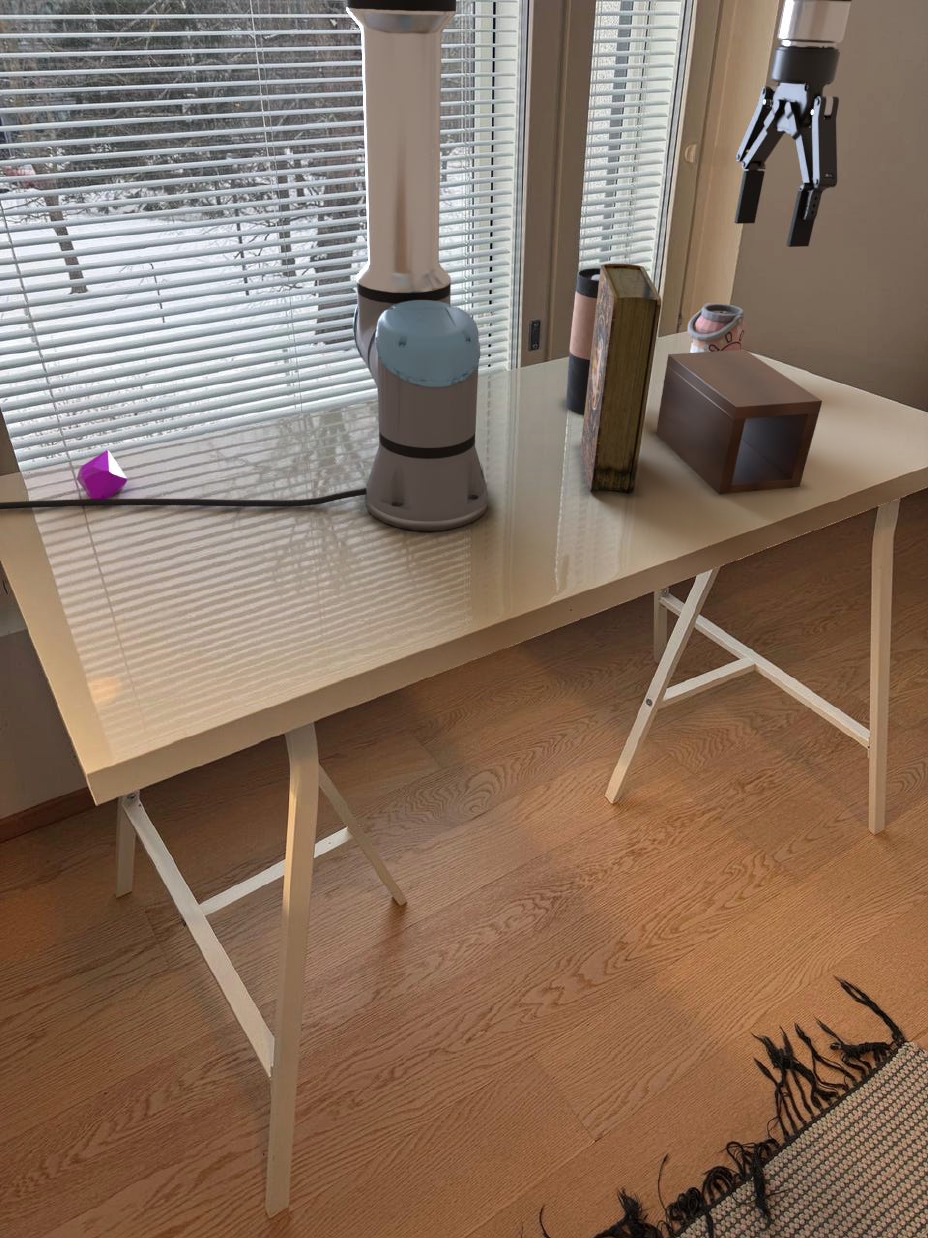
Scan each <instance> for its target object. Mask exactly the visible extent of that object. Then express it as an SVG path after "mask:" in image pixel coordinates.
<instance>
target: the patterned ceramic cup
mask: <svg viewBox="0 0 928 1238" xmlns="http://www.w3.org/2000/svg"><path fill="white" fill-rule="evenodd" d="M744 314H745V311H744V309H742V308H741V307H739V306H737V305H736V306H735V305H732V304H727V303H710V302H707V303H705V304H704V305H703V306H702V308H701V309H700V310H699V311H698V312H696V313H695V314H694V315H693V316H692V317H691V318H690V320H689V321H688V323H687V333H688V334H689V335H690V337H691V338H692V339H691V345H690V350H689V353H698V352H715V351H732V350H742V347H743V343H744V337H745V332H746V324H745V322H744Z"/></svg>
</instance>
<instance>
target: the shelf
mask: <svg viewBox="0 0 928 1238" xmlns="http://www.w3.org/2000/svg"><path fill="white" fill-rule="evenodd" d="M659 404H660V405H659V411H658V417H657V423H656V428H655V429H656V430H655V435H656V436H657V437H658V438H660V439H661V440H662V442H664V443H665V444H666V445H667V446H668V447H669V448H670V449H671V450H672V451H673V452H674V453H675V454H676V455H677V456H678V457H679V458H680V459H681V460H682V461H683V462H685V464H686V465H687V466H689V467H690V468H691V470H693V471H694V472H695V473H696V474H697V475H698V476H699V477H700V478H701V479H702V480H703V481H704V482H705V483H706V484H708V485H709V486H710V487H711V489H713V490H714V491H715V492H716V494H718V495H724V494H725V495H726V494H735V493H745V492H746V493H747V492H757V491H766V490H768V491H769V490H777V489H778V490H779V489H787V488H797V487H798V488H799V487H801V485H802V484H801V483H802V480H803V476H804V473H805V468H806V465H807V460H808V457H809V454H810V449H811V446H812V442H813V438H814V434H815V431H816V426H817V423H818V419H819V415H820V412H821V407H822V405H823V400H822V399H820V398H819V397H817V396H816V395H815V394H813V393H812V392H810V391H809V390H807V389H805V388H804V387H802V386H801V385H799V384H798V383H797V382H795V381H793V380H792V379H791V378H789V377H787V376H786V375H784V374H782V373H781V372H780V371H778V370H776V369H775V368H773V367H772V366H771V365H769V364H767V363H766V362H764V361H763V360H761V359H760V358H758V357H756V356H755V355H754V354H752V353H751V352H749V351H748V350H747V349H741V350H732V351H715V352H698V353H690V352H683V353H682V352H681V353H668V354H667V360H666V367H665V373H664V380H663V386H662V391H661V398H660V403H659Z"/></svg>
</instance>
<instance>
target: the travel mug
mask: <svg viewBox="0 0 928 1238" xmlns="http://www.w3.org/2000/svg"><path fill="white" fill-rule="evenodd" d="M600 269H601V267H594V268H591V267H590V268H585V269H581V270H579V271H578V272H577V277H576V287H575V293H574V294H575V296H574V303H573V304H574V305H573V312H572V313H573V314H572V324H571V332H570V342H569V354H568V367H567V368H568V369H567V381H566V400H565V401H566V402H565V405H566V408H567V409H568V410H570V411H572V412H574V413H577V414H581V415H584V414H585V405H586V395H587V386H588V377H589V368H590V359H591V350H592V341H593V332H594V323H595V314H596V305H597V296H598V287H599V278H600Z"/></svg>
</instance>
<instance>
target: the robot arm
mask: <svg viewBox="0 0 928 1238" xmlns="http://www.w3.org/2000/svg"><path fill="white" fill-rule="evenodd" d="M852 1H853V0H784V1H783V5H782V10H781V16H780V21H779V26H778V31H777V35H776V37H777V39H778V40H779V41H780V45H777V47H776V48H775V49H774V54H773V58H772V64H771V69H770V74H769V78H770V80H771V81H772V82H775V83H777V86H776V85H773V86H772V85H764V86H762V88H761V90H760V94H759V98H758V102H757V104H756V108H755V110H754V113H753V114H752V117H751V120H750V122H749V125H748V126H747V129H746V131H745V134H744V136H743V139H742V140H741V143H740V145H739V148H738V150H737V153H736V155H735V160H736V162H737V163H740V164H741V169H742V170H743V171H742V176H741V183H740V189H739V196H738V201H737V206H736V211H735V217H734V224H737V225H741V224H742V225H743V224H756V218H757V214H758V209H759V204H760V203H759V202H760V199H761V192H762V187H763V184H764V183H763V182H764V177H765V171H764V170H765V169H767V167H766V161H767V160H768V158H769V157H770V155H772V152H773V151H774V149H775V148H776V146H777V145H778V143H779V142H780V141H781V139H782V138H783V135H785V134H789V135H790V136H791V138H792V139H793V140H794V141H795V145H796V150H797V157H798V162H799V168H800V169H799V170H800V174H801V180H802V184H801V185H800V186H799V187H798V190H797V194H796V199H795V204H794V209H793V213H792V217H791V222H790V227H789V231H788V236H787V240H786V245H785V246H786V247H788V248H796V247H798V248H799V247H801V248H802V247H810V242H811V238H812V233H813V228H814V225H815V220H816V218H817V216H818V211H819V207H820V203H821V199H822V195H823V193H824V191H825V190H826V189H830V188H836V186H837V184H838V148H837V147H838V146H837V145H838V142H837V115H838V111H839V105H840V98H839V97H838V96H833V95H832V96H831V95H830V96H826V95H825V96H824V88H825V86H828V85H831V84H833V82H834V81H835V78H836V75H837V70H838V65H839V61H840V57H841V51H840V48H837V44H840V43H841V42H842V41H844V37H845V32H846V27H847V22H848V19H849V16H850V15H849V13H850V9H851V4H852ZM346 12H347V13H348V15H350V17H351V18H352V19H353V21H354V22H355V23H356V24H357V25H358V26H359V29H360V31H361V46H362V47H361V53H362V85H363V86H362V88H363V119H364V122H363V123H364V151H365V152H364V153H365V158H364V159H365V189H366V191H365V192H366V221H367V224H366V225H367V257H368V261H367V263H366V265H364V267H363V268H362V269H361V270H360V271H359V273H357V275H356V300H357V301H356V303H357V304H356V307H355V310H354V314H353V319H352V320H353V321H352V334H353V340H354V344H355V347H356V350H357V352H358V354H359V356H360V358H361V359H362V361H363V362H364V363H365V366H366V367H367V369H368V370H369V373H370V375H371V377H372V380H373V381H374V383H375V385H376V389H377V408H378V409H377V410H378V412H377V413H378V447H377V450H376V453H375V457H374V460H373V462H372V465H371V470H370V472H369V476H368V479H367V482H366V486H365V487H362V488H357V489H352V490H346V491H341V492H335V493H332V494H328V495H324V496H320V497H319V496H318V497H312V498H301V499H299V498H298V499H220V498H218V499H217V498H108V499H91V498H82V499H81V498H80V499H76V498H75V499H47V500H26V501H25V500H21V501H20V500H19V501H1V502H0V510H15V509H16V510H17V509H32V508H33V509H36V508H37V509H38V508H63V507H64V508H65V507H96V506H97V507H105V506H106V507H107V506H109V507H111V506H117V507H118V506H190V507H192V506H197V507H198V506H200V507H251V508H253V507H258V508H259V507H267V508H268V507H271V508H273V507H274V508H276V507H277V508H279V507H281V508H283V507H285V508H286V507H287V508H288V507H289V508H291V507H305V506H316V505H317V506H318V505H321V504H322V505H323V504H327V503H330V502H335V501H340V500H344V499H349V498H355V497H360V496H365V506H366V508H367V510H368V512H369V513H370V515H372V516H373V517H375V518H376V519H377V520H379V521H380V522H382V523H385V524H387V525H390V526H392V527H396V528H399V529H404V530H410V531H418V532H419V531H420V532H423V531H424V532H437V531H446V530H452V529H456V528H459V527H463V526H466V525H468V524H471V523H473V522H474V521H476V520H478V519H479V518H481V516H483V514H484V513H485V512H486V510H487V509H488V499H489V498H488V497H489V495H488V485H487V481H486V478H485V472H484V467H483V464H482V463H481V461H480V458H479V455H478V452H477V448H476V428H477V408H478V386H479V363H480V359H481V353H482V352H481V342H480V333H479V327H478V325H477V323H476V320H475V319H474V318H473V317H472V315H470V313H468V312H467V311H465V310H464V309H462V308H461V307H458V306H451V293H452V292H451V290H452V289H451V288H452V278H451V275H449V273H448V272H447V271H446V270H445V269H444V268H443V267H442V266H441V264H440V262H439V261H440V198H441V197H440V190H441V188H440V186H441V185H440V184H441V183H440V182H441V111H442V110H441V109H442V108H441V107H442V34H443V31H444V30H445V29H446V28H447V26H448V25H449V24H450V22H451V21H452V20H453V19H454V17H455V16H456V15H457V0H346Z"/></svg>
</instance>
